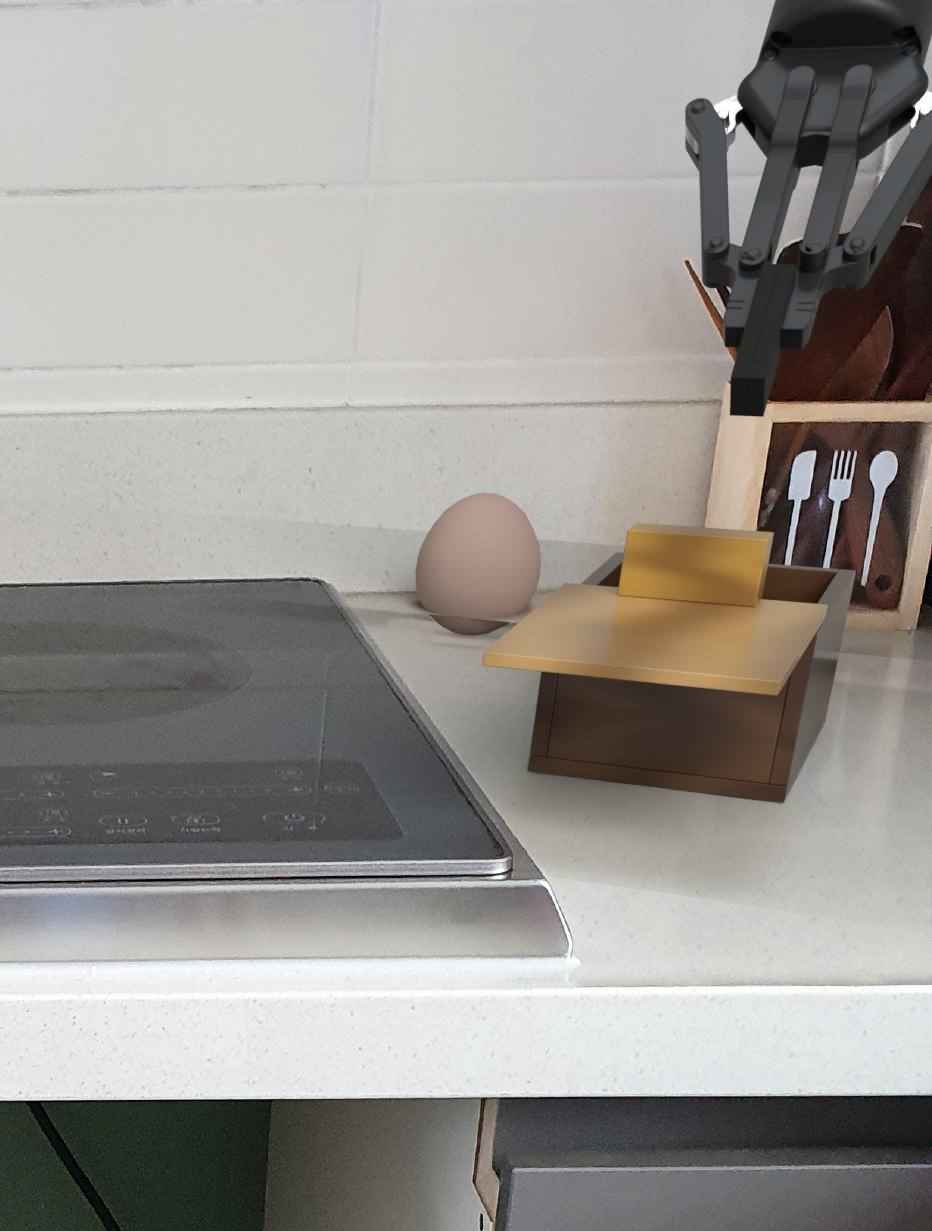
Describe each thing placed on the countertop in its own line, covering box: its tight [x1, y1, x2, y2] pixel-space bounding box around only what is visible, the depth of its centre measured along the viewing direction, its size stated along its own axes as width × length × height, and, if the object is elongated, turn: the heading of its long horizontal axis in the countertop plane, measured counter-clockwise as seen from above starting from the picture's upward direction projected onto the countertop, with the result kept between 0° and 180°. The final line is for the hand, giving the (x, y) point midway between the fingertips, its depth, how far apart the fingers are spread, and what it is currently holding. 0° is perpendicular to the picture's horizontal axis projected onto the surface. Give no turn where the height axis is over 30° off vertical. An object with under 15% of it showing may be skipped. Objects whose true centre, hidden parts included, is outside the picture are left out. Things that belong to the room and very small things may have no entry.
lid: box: [482, 522, 828, 696], centre depth 91 cm, size 12×16×4 cm
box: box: [526, 551, 857, 803], centre depth 104 cm, size 12×16×8 cm
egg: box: [415, 492, 542, 637], centre depth 126 cm, size 7×7×8 cm
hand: (747, 396), depth 98 cm, fingers closed
